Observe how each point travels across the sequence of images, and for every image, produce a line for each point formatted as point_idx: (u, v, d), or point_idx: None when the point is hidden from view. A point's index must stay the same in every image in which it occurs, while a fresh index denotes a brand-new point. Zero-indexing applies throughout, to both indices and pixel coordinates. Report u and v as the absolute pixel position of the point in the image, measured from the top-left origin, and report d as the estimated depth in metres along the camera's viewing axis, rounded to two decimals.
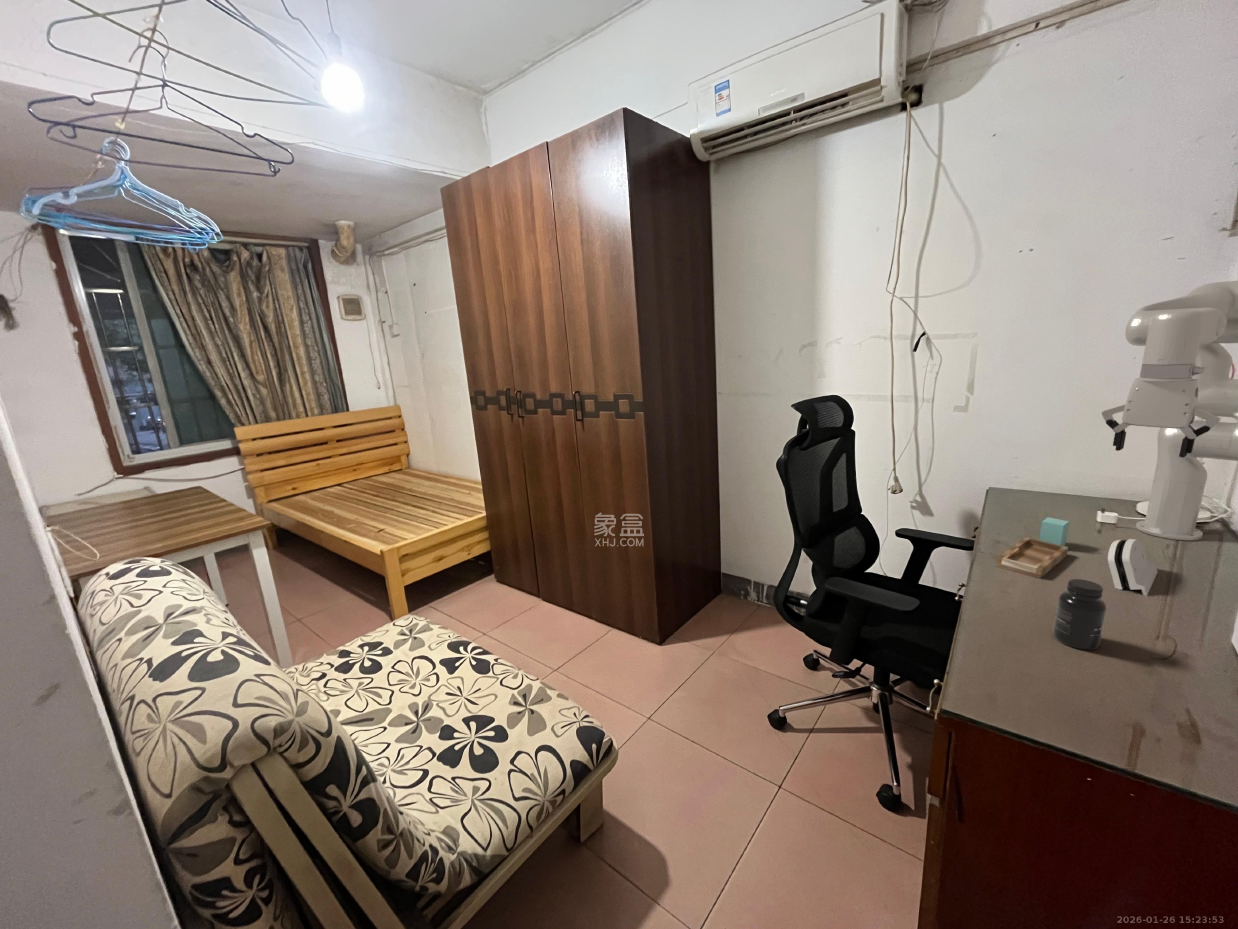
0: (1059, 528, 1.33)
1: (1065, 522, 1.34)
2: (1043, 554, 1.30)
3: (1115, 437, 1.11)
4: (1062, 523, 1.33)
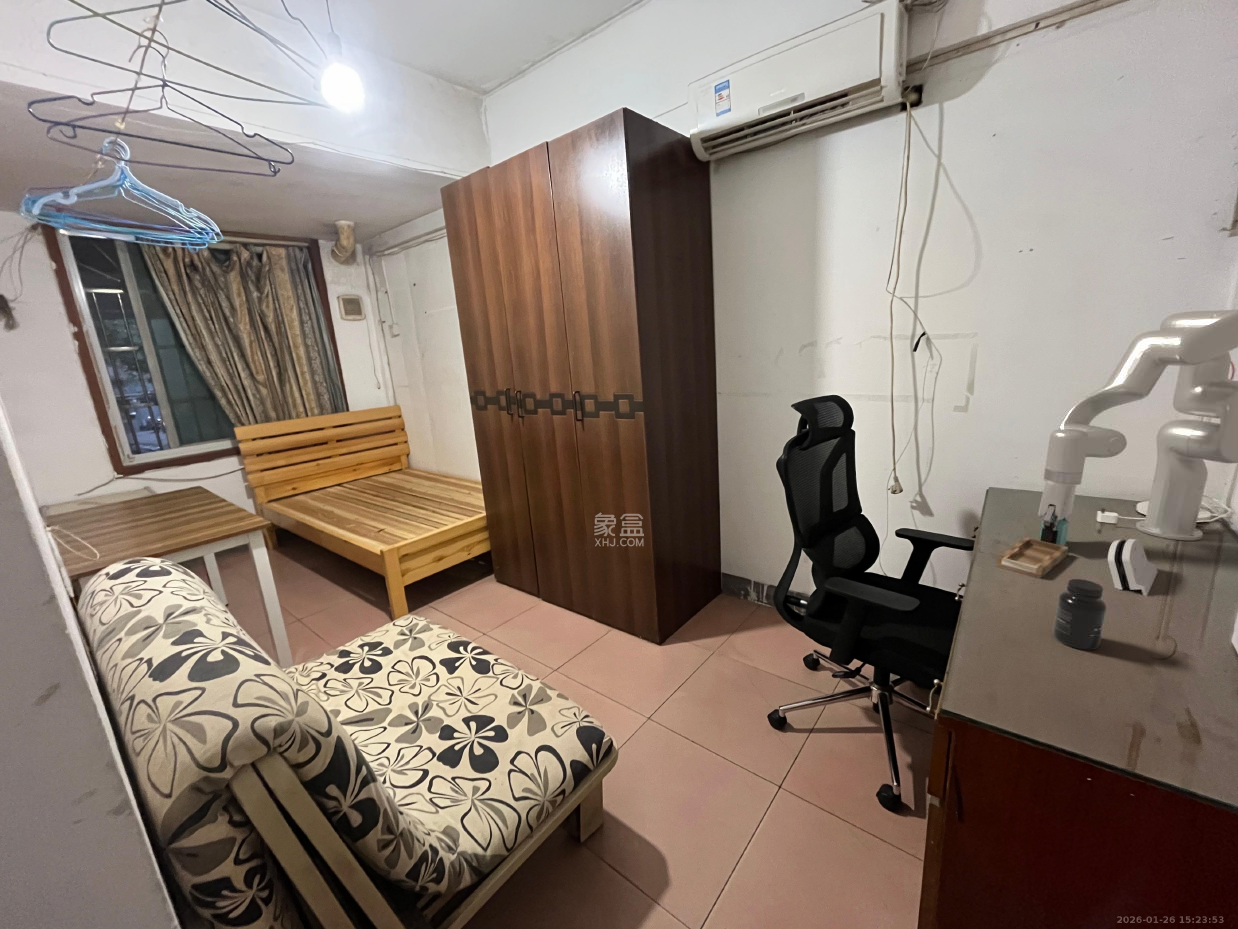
0: (1059, 528, 1.33)
1: (1065, 522, 1.34)
2: (1043, 554, 1.30)
3: (1052, 534, 1.33)
4: (1062, 523, 1.33)
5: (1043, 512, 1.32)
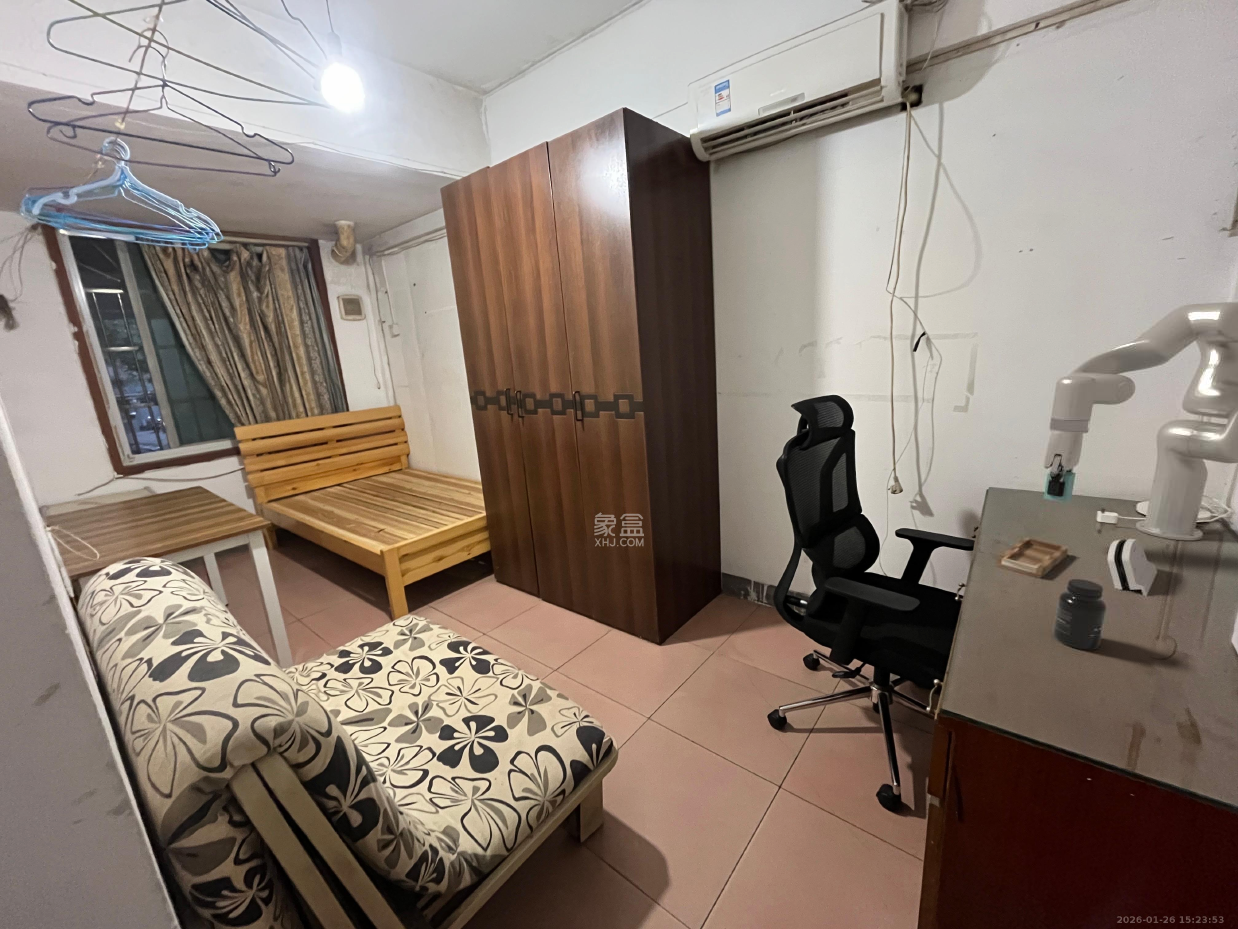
0: (1065, 479, 1.29)
1: (1071, 473, 1.30)
2: (1043, 554, 1.30)
3: (1059, 486, 1.29)
4: (1068, 474, 1.29)
5: (1049, 463, 1.29)
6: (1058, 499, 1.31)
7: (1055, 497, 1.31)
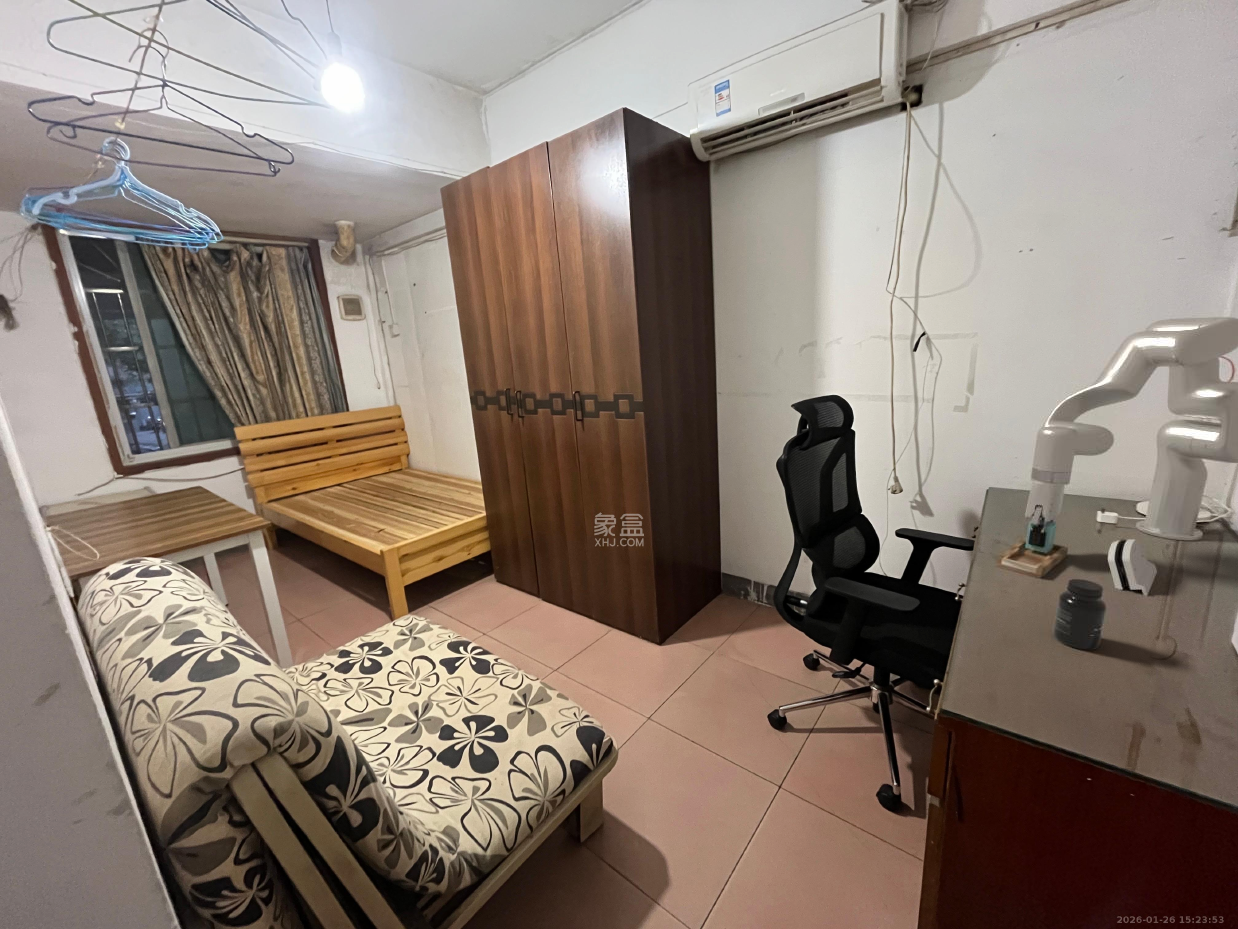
0: (1047, 530, 1.27)
1: (1053, 523, 1.28)
2: (1043, 554, 1.30)
3: (1040, 537, 1.27)
4: (1049, 524, 1.27)
5: (1030, 513, 1.27)
6: (1039, 549, 1.29)
7: (1036, 547, 1.29)
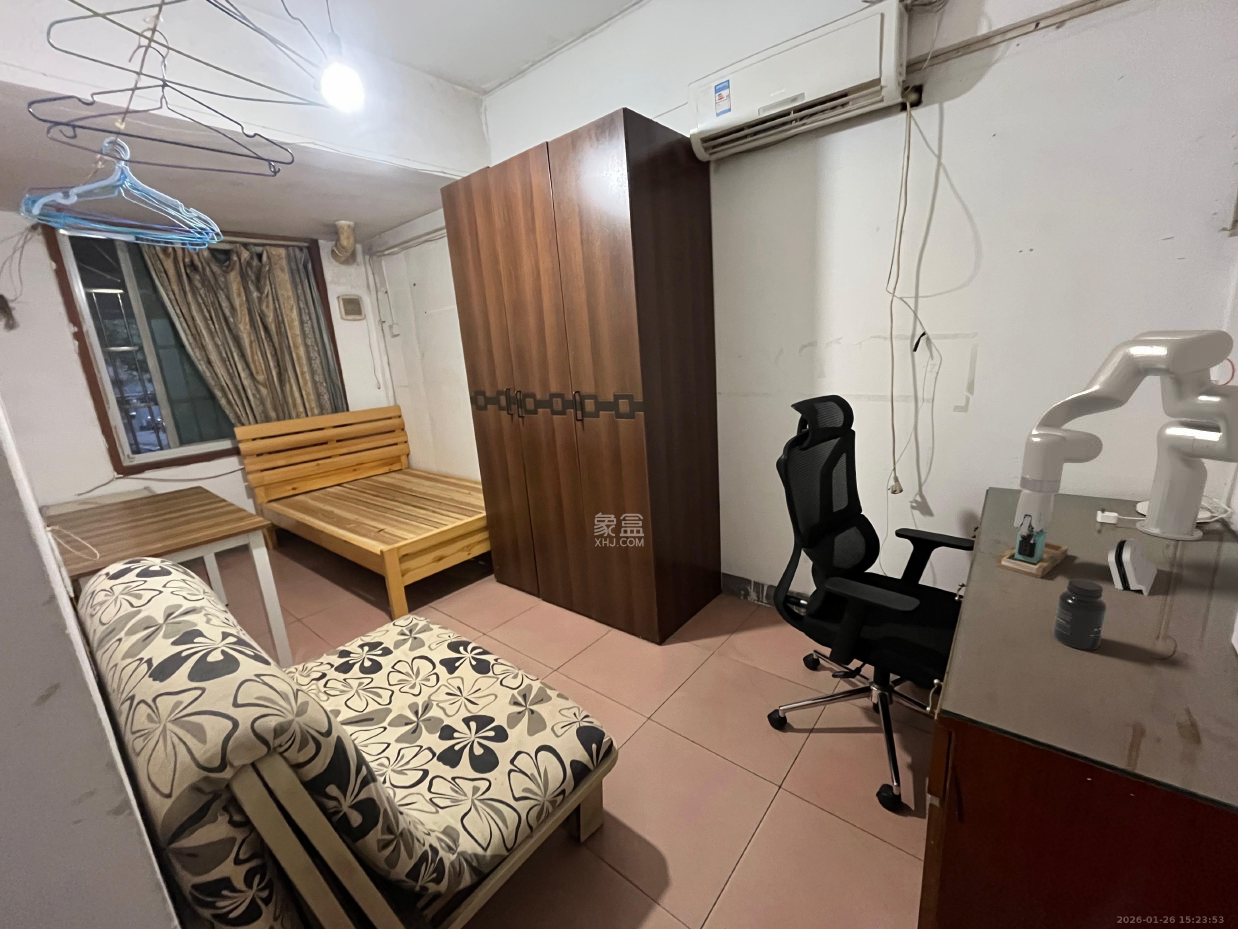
0: (1036, 540, 1.23)
1: (1042, 533, 1.24)
2: (1043, 554, 1.30)
3: (1030, 547, 1.23)
4: (1039, 534, 1.24)
5: (1019, 523, 1.23)
6: (1029, 560, 1.25)
7: (1026, 557, 1.25)
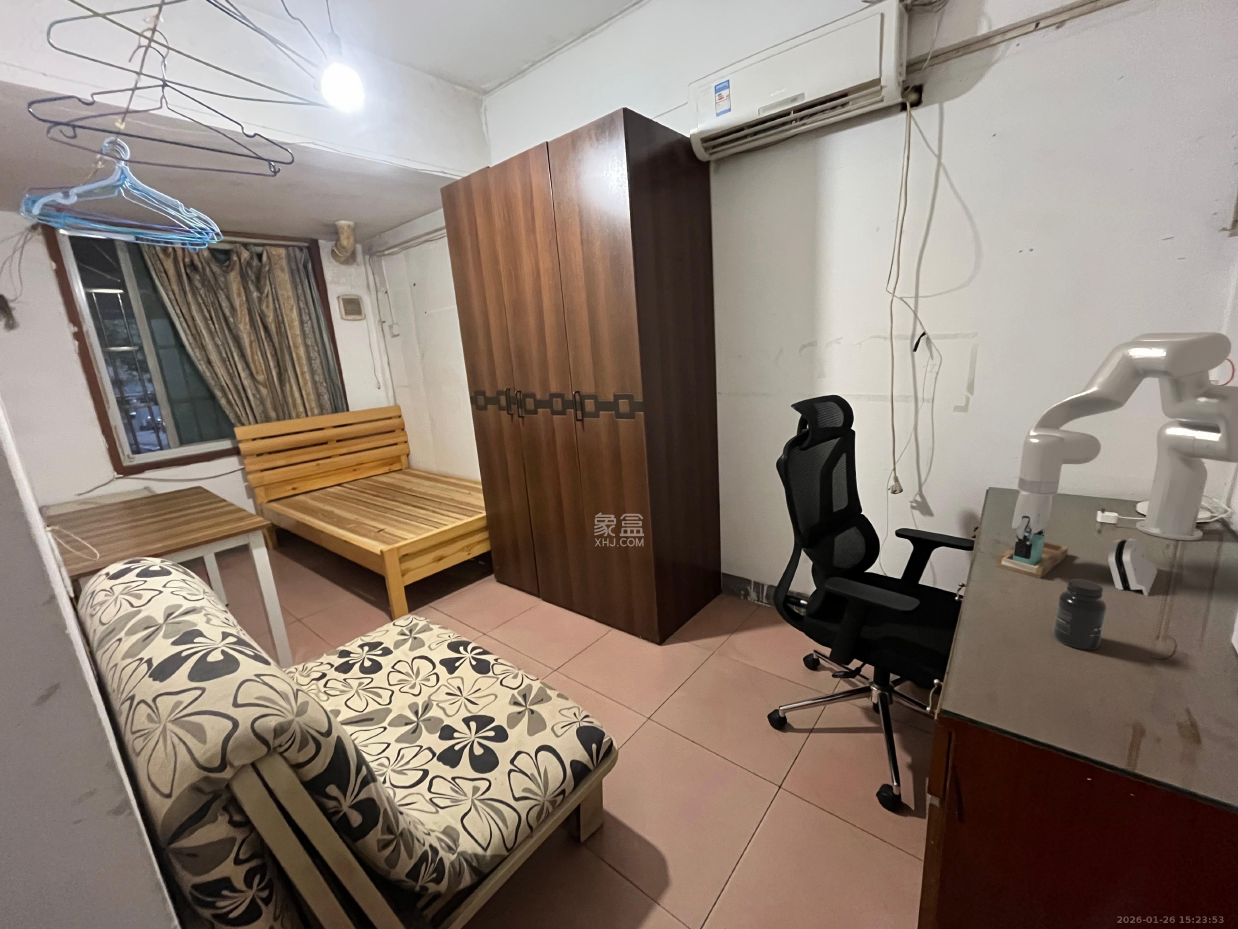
0: (1034, 544, 1.22)
1: (1040, 537, 1.24)
2: (1043, 554, 1.30)
3: (1026, 548, 1.22)
4: (1037, 538, 1.23)
5: (1017, 524, 1.22)
6: None
7: (1024, 561, 1.25)
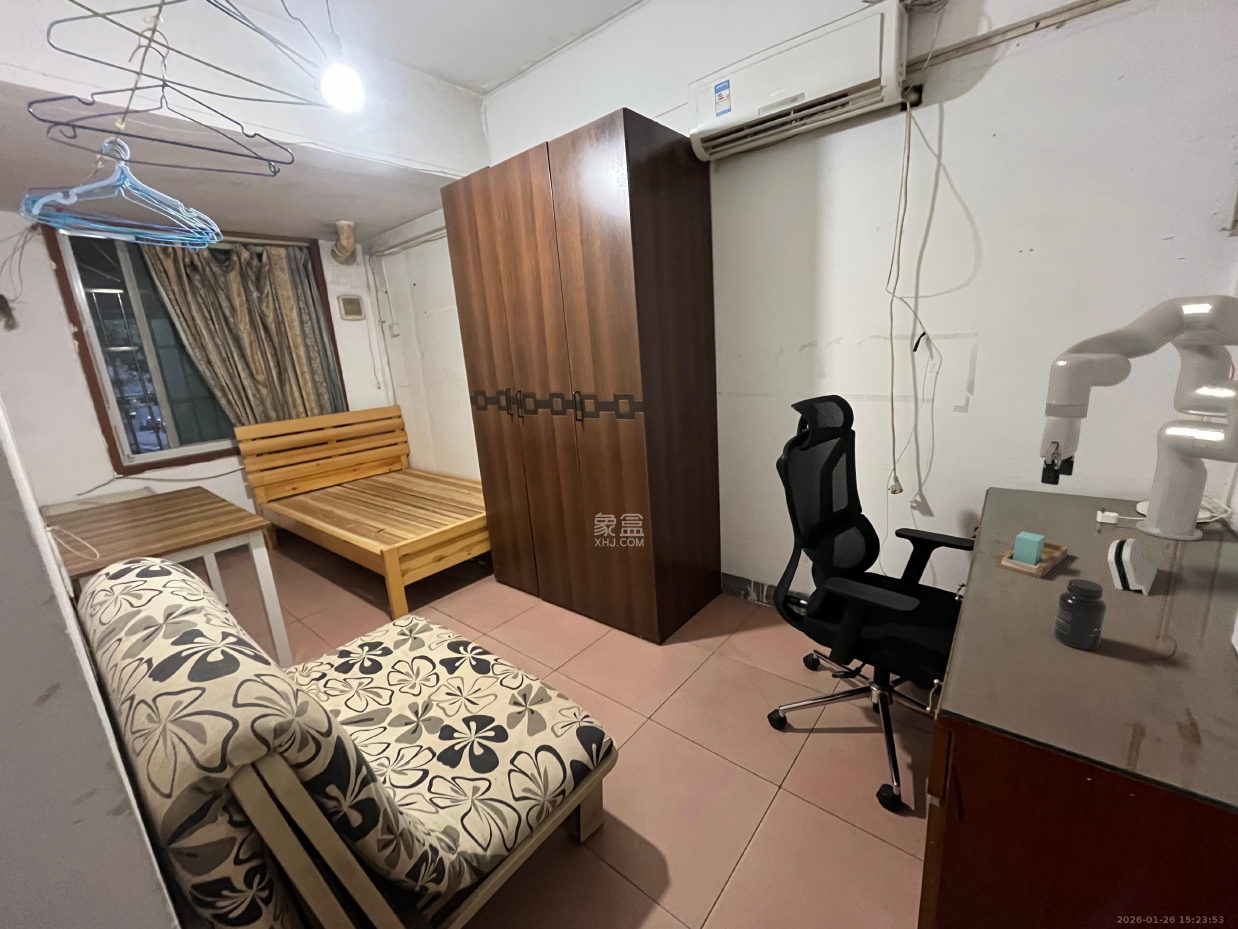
0: (1034, 544, 1.22)
1: (1040, 537, 1.24)
2: (1043, 554, 1.30)
3: (1054, 474, 1.19)
4: (1037, 538, 1.23)
5: (1045, 451, 1.20)
6: None
7: (1024, 561, 1.25)
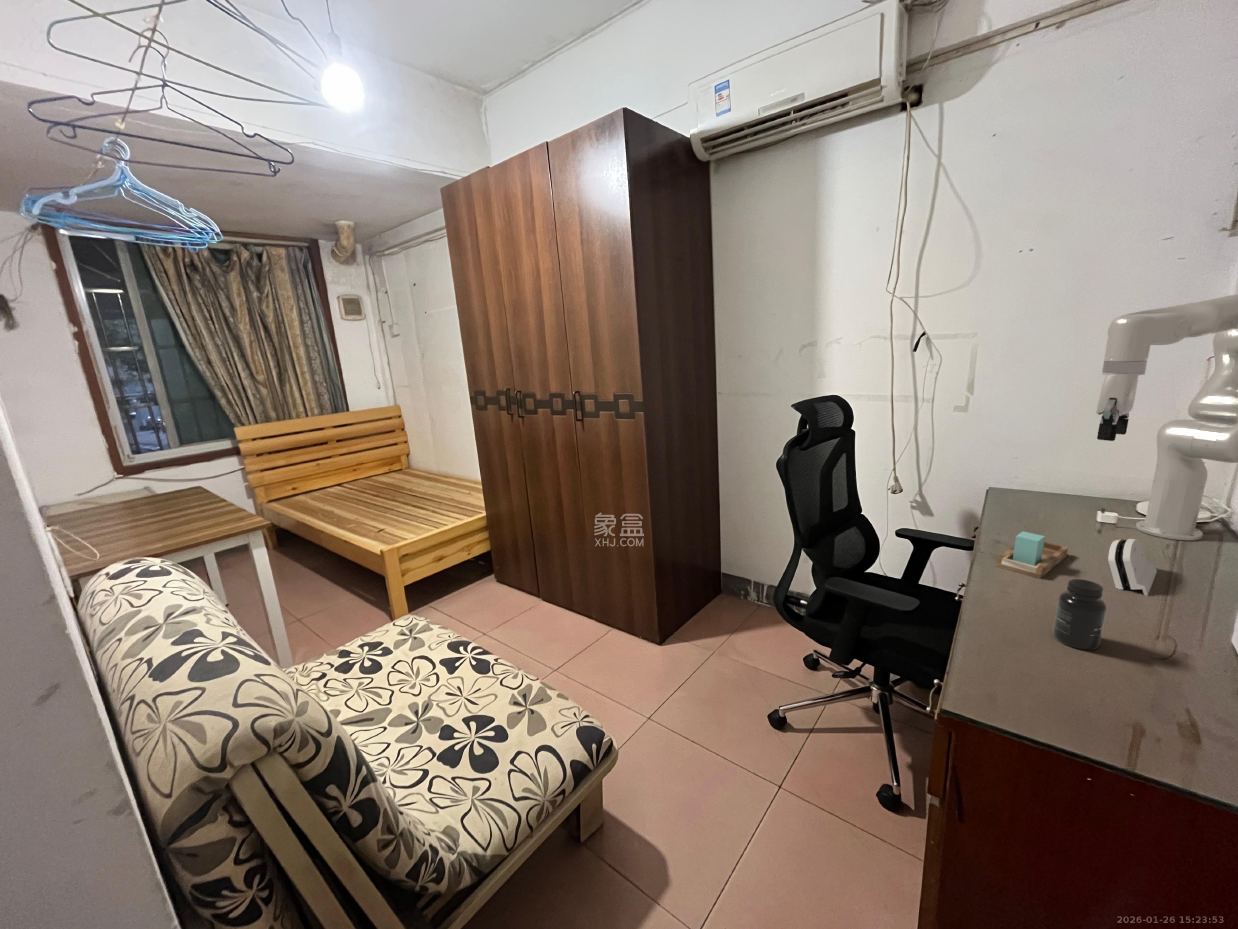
0: (1034, 544, 1.22)
1: (1040, 537, 1.24)
2: (1043, 554, 1.30)
3: (1111, 429, 1.22)
4: (1037, 538, 1.23)
5: (1102, 408, 1.23)
6: None
7: (1024, 561, 1.25)
